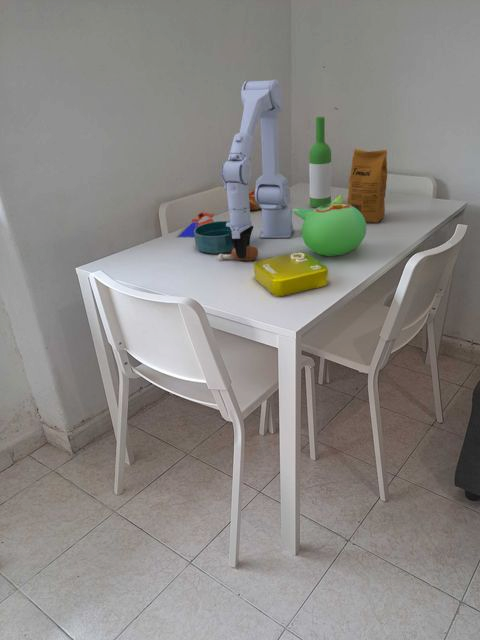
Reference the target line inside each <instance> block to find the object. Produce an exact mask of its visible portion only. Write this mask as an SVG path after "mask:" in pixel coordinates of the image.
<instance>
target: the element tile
mask: <svg viewBox="0 0 480 640" xmlns="http://www.w3.org/2000/svg"><path fill="white" fill-rule="evenodd" d="M328 268H329V267H327V266H326V265H325V264H323V263H321V262H320V261H318V259H315V258H314V257H312V256H311V255H309V254H308V253H306V252H305V251H304V252H303V251H296V252H292V253H288V254H282V255H279V256H274V257H269V258H266V259H259V260H256V261H254V263H253V272H254V279H255V280H256V281H257V282H258V283H259V284H260V285H261V286H262V287H263V288H265V289H266V290H267V291H268V292H269V293H270V294H271V295H273V296H274V297H286V296H290V295H293V294H294V295H295V294H298V293H301V292H302V293H303V292H305V291H310V290H314V289H319V288H323V287H325V286H327V285H328V283H329V269H328Z"/></svg>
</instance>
